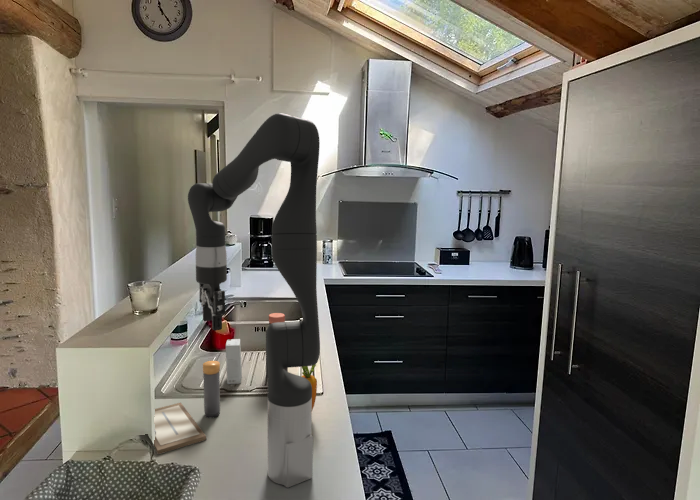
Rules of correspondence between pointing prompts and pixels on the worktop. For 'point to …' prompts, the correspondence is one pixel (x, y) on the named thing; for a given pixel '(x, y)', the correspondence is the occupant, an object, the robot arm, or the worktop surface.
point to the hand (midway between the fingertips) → (212, 325)
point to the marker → (211, 388)
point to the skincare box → (233, 361)
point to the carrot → (311, 381)
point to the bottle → (273, 319)
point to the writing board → (175, 428)
